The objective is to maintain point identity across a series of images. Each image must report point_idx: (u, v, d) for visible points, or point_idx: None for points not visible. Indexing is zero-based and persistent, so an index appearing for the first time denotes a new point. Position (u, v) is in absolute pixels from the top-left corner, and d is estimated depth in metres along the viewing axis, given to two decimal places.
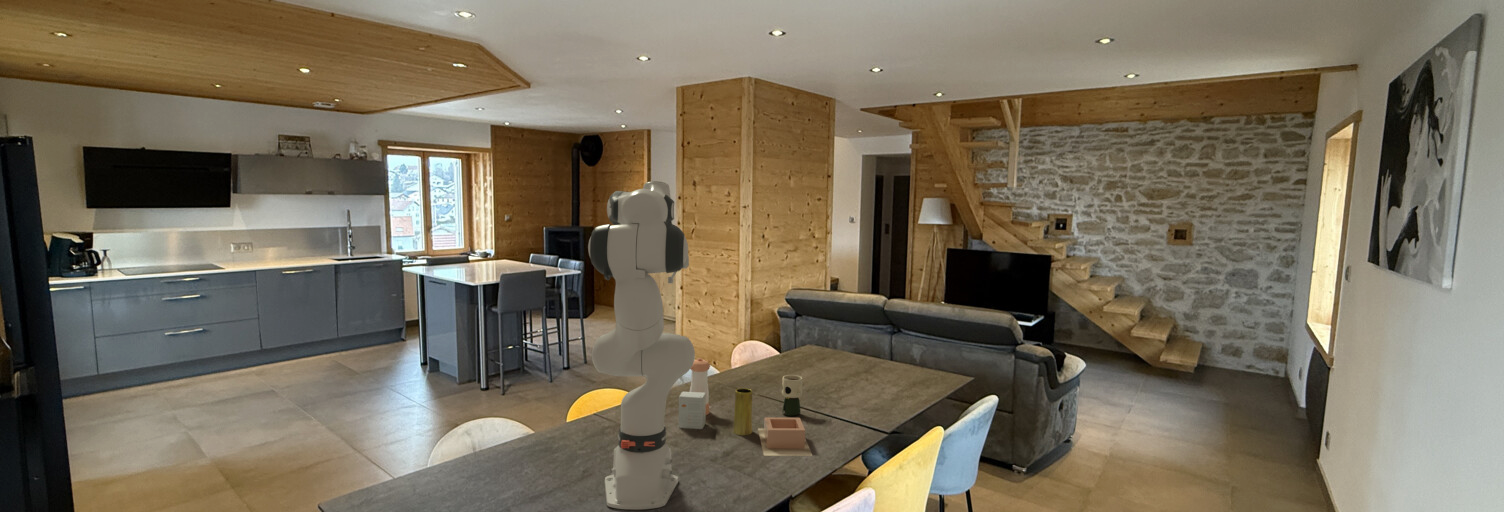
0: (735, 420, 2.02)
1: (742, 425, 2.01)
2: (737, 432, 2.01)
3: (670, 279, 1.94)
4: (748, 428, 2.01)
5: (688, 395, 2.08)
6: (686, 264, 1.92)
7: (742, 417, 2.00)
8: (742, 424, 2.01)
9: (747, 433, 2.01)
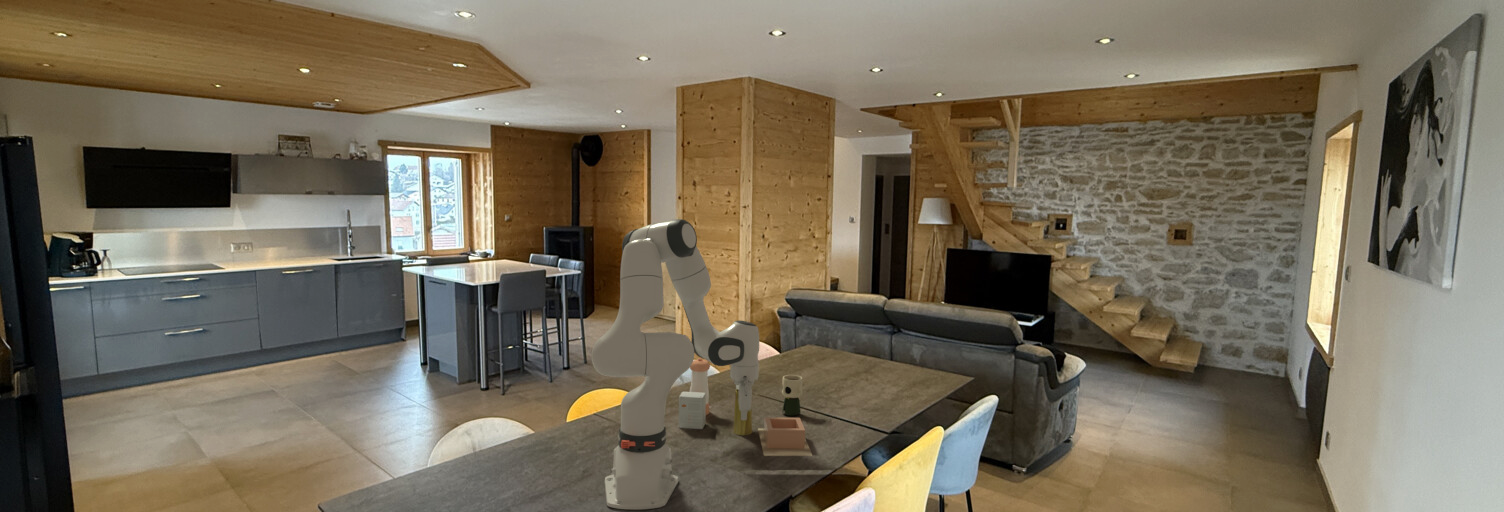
0: (735, 420, 2.02)
1: (742, 425, 2.01)
2: (737, 432, 2.01)
3: None
4: (748, 428, 2.01)
5: (688, 395, 2.08)
6: None
7: None
8: (742, 424, 2.01)
9: (747, 433, 2.01)
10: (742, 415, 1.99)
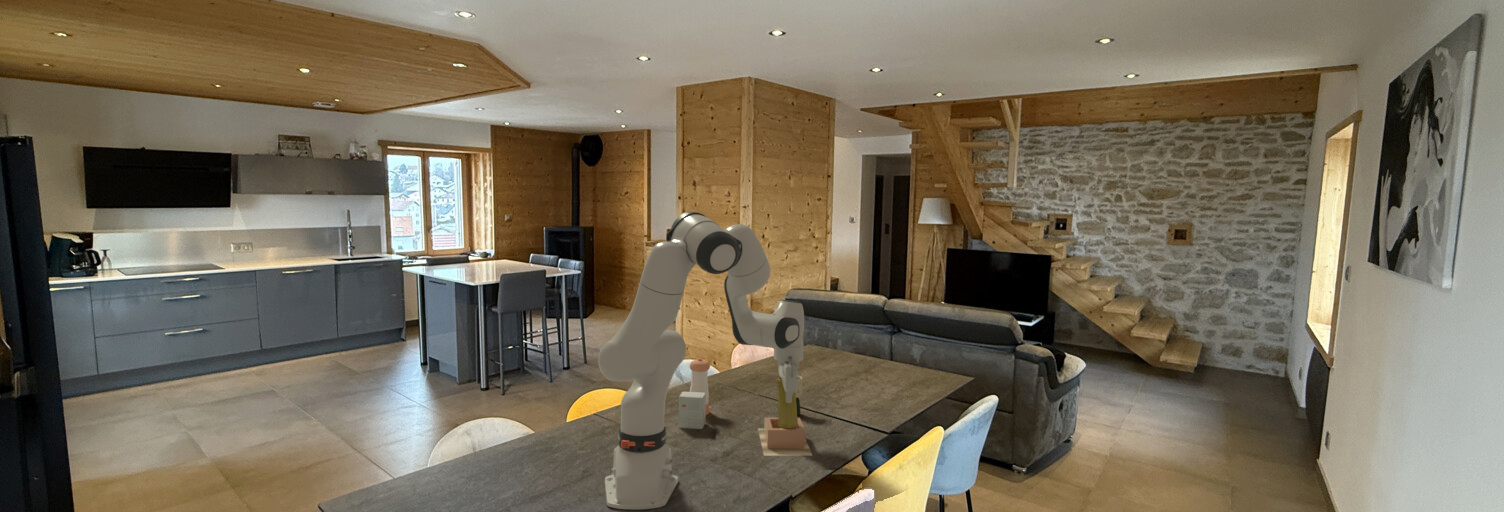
0: (780, 410, 1.93)
1: (788, 414, 1.92)
2: (783, 422, 1.92)
3: None
4: (794, 417, 1.92)
5: (688, 395, 2.08)
6: None
7: (788, 406, 1.92)
8: (787, 413, 1.92)
9: (793, 422, 1.92)
10: (787, 398, 1.90)
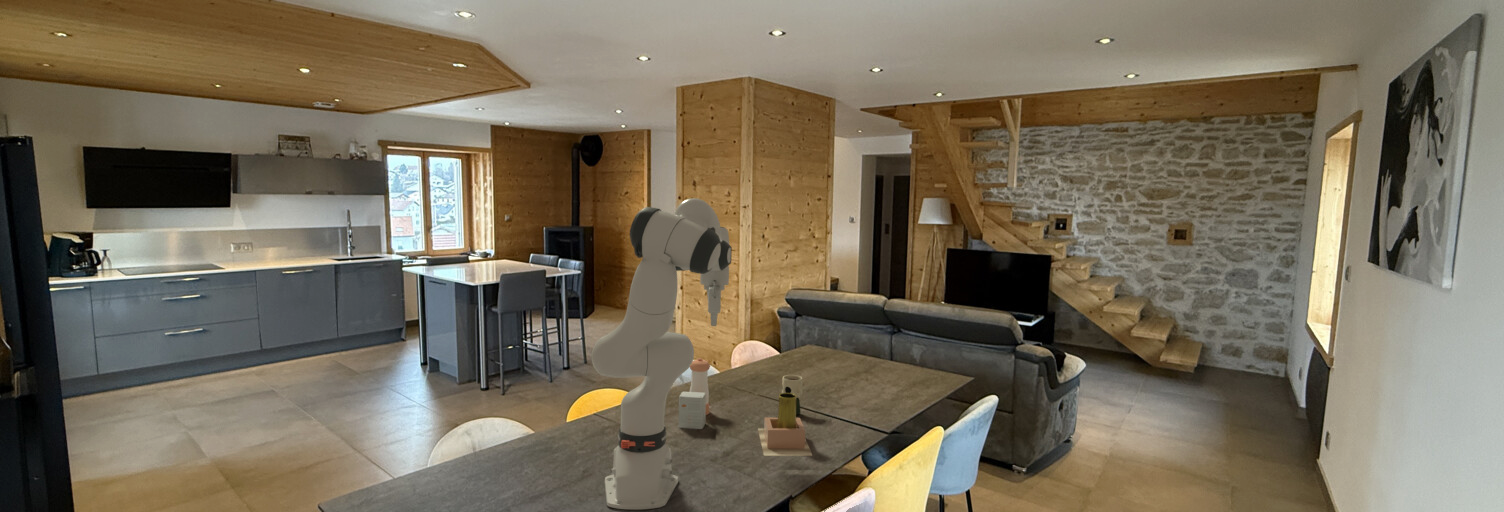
0: (779, 427, 1.94)
1: None
2: None
3: None
4: None
5: (688, 395, 2.08)
6: None
7: (788, 423, 1.93)
8: None
9: None
10: (712, 321, 1.96)
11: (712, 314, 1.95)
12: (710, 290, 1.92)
